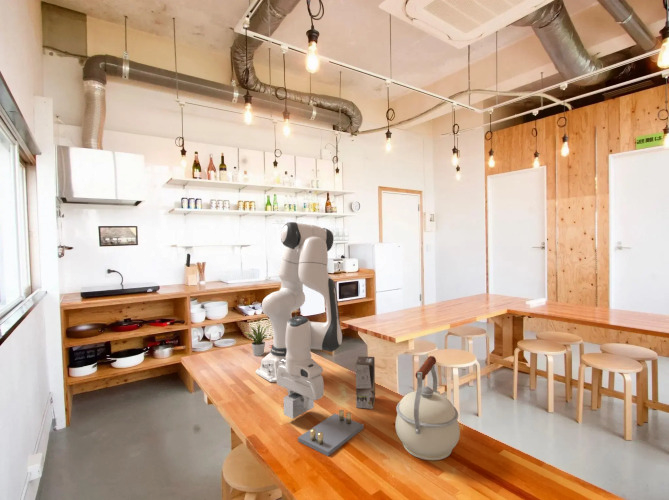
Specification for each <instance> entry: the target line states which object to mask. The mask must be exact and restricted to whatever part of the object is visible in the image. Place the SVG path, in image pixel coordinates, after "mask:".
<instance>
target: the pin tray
mask: <svg viewBox="0 0 669 500" xmlns="http://www.w3.org/2000/svg"><path fill="white" fill-rule="evenodd" d="M364 427H365V426H364V424H363V423H360V422H358V421H355V420H352V413H351V412H347V413H346V414H345V411H344V410H343V409H339V411H338V414H337V413H333V414H331V415H330V416H329V417H327V418H325V419H324V420H323V421H321V422H319V423H318V424H316V425H315V426H313V427H312V428H310V429H309V430H307V431H306V432H304V433H303V434H301V435H300V436H298V437H297V441H298V443H301V444H303V445H305V446H307V447H309V448H311V449H313V450H315V451H317V452H318V453H321V454H322V455H325V456H327V457H329V456H330V455H332V454H333V453H335V452H336V451H337V450H339V448H341V447H342V446H343V445H344V444H346V443H347V442H348V441H350V440H351V439H352V438H353V437H354V436H356V435H357V434H359V432H361V431H362V430H363V429H364Z"/></svg>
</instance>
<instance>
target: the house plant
mask: <svg viewBox="0 0 669 500" xmlns="http://www.w3.org/2000/svg"><path fill="white" fill-rule="evenodd" d="M256 326H257V330H256V328H255V327H253V325H251V326H248V327H249V328H250V329H251V330H249V329H248V328H246V330H247V331H250V332H251V333H249V332H246V331H244V333H245V334H246V335H247V337H246V339H248V338H250V339H252V340H253V342H252V343H251V348H252V353H253V356H255V357H261V356H263V355H264V354H265V345H266V341H263V340H264V339H265V340H266V339H267V338H269V337H268V334H265V333H266V332H267V330H268V328H269V327H272V325H271V324H270V325H267V326H265V328H264V326H262V327H261V323H259V325H258V324H256ZM263 329H264V330H263Z"/></svg>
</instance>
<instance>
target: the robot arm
mask: <svg viewBox="0 0 669 500" xmlns="http://www.w3.org/2000/svg"><path fill="white" fill-rule="evenodd" d="M333 234H334V233H333V232H332V231H331V230H330V229H328V228H325V227H320V226H318V225H314V224H307V223H297V222H296V221H294V222H293V221H291V222H289V221H287V222H286V223H285V224H284V226H283V227H282V229H281V233H280V240H281V243H282V244H283V246H285V248H284V251H283V255H282V258H281V261H280V262H281V263H280V266H279V270H278V277H279V278H280V282H281V283H280V289H279V290H277V291H273V292H271V293H269V294H268V295H266V296H265V297H264V298H263V300H262V302H261V309H262V312H263V314H264V315H265V316H267V317H268V319H269V321H270V325H271V328H272V341H273V342H272V344H271V345H269V348H268V349H271V350H270V352H269V353H268V354H266V356H264V357H263V358H262V359H261V361H260V367H259V368H257V369H256V370H255V374H256V375H258V376H259V377H262V378H263V379H265V380H266V381H268V382H270V383H276V384H277V385H278V386H279V387H282V388H284V389H286V391H287V395H289V394H291V393H293V392H296V393H298V394H301V395H303V396H304V399H305V400H304V401H303V402H302V407H304V408H307V407H308V402H309V400H310V399H313V400H314V401H318V400H319V399H321V398H323V396H324V392H325V384H324V378H323V375H322V374H323V372H324V368H323V367H322V366H321V365H320V364H318V363H317V362H316V361H315V360H314V359H313V358H312V352H311V350H321V351H325V352H330V353H333V352H334V351H336V350H337V349H339V348H340V347H341V345H342V342H343V341H342V340H343V333H342V328H341V321H340V312H339V303H338V302H339V301H338V295H337V288H336V287H337V286H336V283H335V280H334V279H332V278H331V277H330V275H329V271H328V263H329V262H328V261H329V260H328V259H329V256H328V252H329V251H330V250H331V249H332V248H333V245H334V244H333V243H334V235H333ZM304 286H305V287H306V288H308V289H311V290H313V291H315V292H316V293H319V294H320V295H321V296H322V297H323V298H324V301H325V302H324V303H325V311H326V312H325V313H326V321H325V322H319V321H310V320H309V318H308V317H306V316H303V315H302V316H300V315H299V316H298V315H297V316H293V315H292V313H293V312H295V311H297V310H299V309H300V308H301V307H302V306H304V304H305V302H306V295H305V293H304V288H303V287H304Z"/></svg>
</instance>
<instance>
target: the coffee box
mask: <svg viewBox="0 0 669 500" xmlns="http://www.w3.org/2000/svg"><path fill="white" fill-rule="evenodd" d="M375 364H376V363H375V356H358V358H357V360H356V363H355V405H356V406H355V407H356V408H358V409H360V408H361V409H370V410H373V409H374V405H375V399H376V378H375V377H376V373H375V372H376V371H375V369H376V367H375V366H376V365H375Z"/></svg>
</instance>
